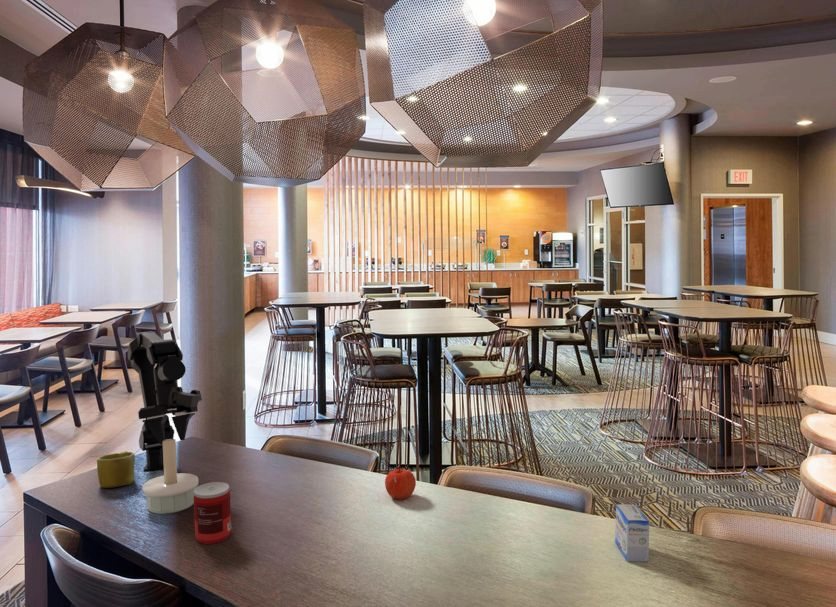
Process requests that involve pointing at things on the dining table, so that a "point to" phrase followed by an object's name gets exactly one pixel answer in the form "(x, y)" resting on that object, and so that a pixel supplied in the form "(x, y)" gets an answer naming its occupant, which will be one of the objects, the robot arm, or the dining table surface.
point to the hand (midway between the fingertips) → (172, 442)
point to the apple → (400, 483)
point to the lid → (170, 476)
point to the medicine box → (632, 533)
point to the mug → (116, 469)
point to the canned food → (212, 512)
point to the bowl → (170, 503)
